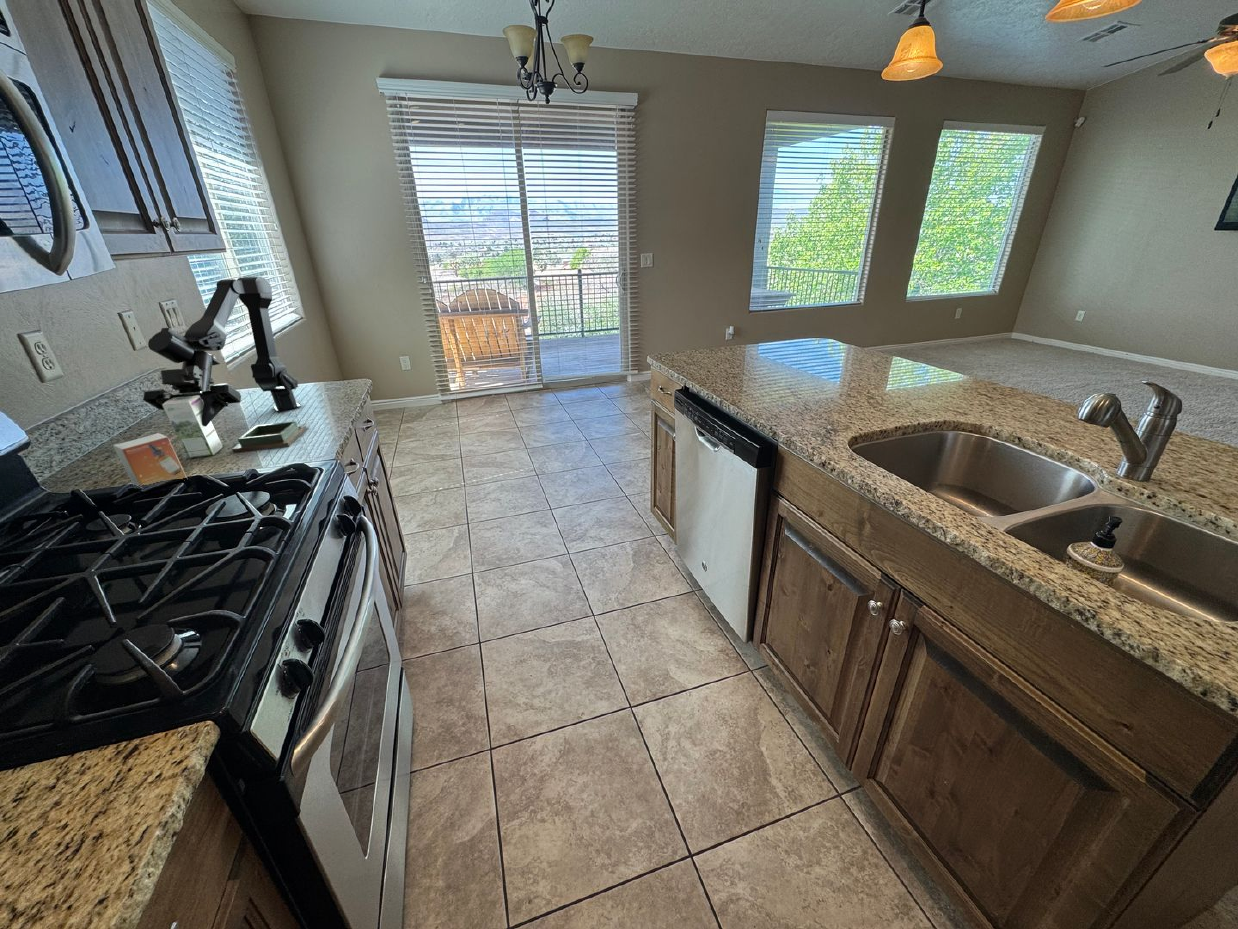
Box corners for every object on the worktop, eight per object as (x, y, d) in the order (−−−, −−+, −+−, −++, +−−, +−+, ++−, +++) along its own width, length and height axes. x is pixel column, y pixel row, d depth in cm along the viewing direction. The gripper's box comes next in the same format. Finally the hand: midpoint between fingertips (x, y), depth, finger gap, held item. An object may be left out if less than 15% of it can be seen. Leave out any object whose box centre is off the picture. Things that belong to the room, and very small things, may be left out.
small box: (144, 494, 104) (120, 449, 99) (134, 488, 107) (111, 444, 102) (188, 479, 110) (168, 436, 105) (178, 474, 113) (158, 432, 108)
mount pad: (256, 434, 135) (252, 424, 133) (306, 428, 137) (303, 419, 136) (233, 452, 123) (228, 441, 122) (288, 446, 125) (284, 435, 124)
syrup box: (223, 446, 127) (200, 393, 121) (213, 455, 122) (188, 400, 115) (198, 450, 126) (173, 396, 119) (187, 459, 121) (160, 403, 114)
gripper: (129, 358, 115) (119, 417, 110) (216, 351, 118) (210, 408, 113) (164, 381, 126) (156, 436, 121) (244, 374, 129) (239, 427, 124)
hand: (190, 427), depth 119 cm, fingers closed on syrup box, 6 cm apart
